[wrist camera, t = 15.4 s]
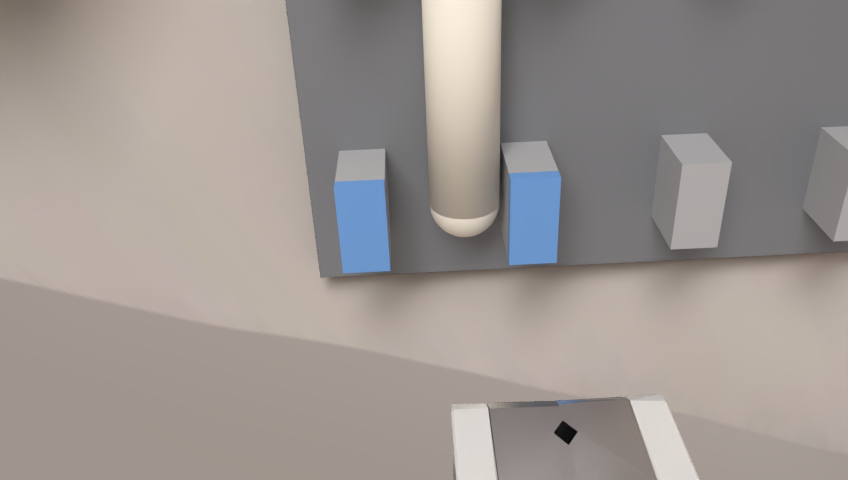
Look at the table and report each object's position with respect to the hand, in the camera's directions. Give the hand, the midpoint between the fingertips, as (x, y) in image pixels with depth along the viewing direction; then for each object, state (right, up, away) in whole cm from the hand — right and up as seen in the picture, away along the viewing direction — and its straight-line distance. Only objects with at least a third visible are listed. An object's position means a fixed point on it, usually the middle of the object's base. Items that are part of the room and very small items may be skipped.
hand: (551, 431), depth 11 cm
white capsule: (0, +10, +19) cm, 22 cm away
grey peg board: (+6, +12, +22) cm, 25 cm away
